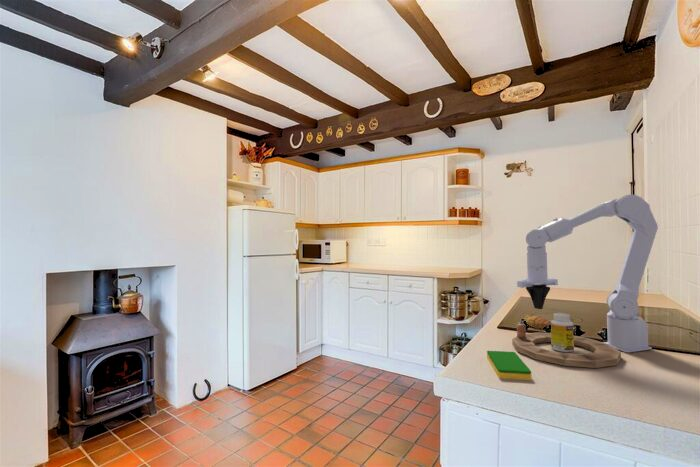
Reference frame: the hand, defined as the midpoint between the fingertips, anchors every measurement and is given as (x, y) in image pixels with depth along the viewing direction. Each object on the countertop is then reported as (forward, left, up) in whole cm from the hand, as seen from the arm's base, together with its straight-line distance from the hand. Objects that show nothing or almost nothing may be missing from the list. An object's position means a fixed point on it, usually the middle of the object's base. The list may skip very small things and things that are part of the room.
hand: (538, 308), depth 109 cm
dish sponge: (+28, +18, -10) cm, 35 cm away
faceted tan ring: (+5, +13, -9) cm, 17 cm away
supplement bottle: (+4, +12, -10) cm, 15 cm away
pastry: (-10, -11, -10) cm, 18 cm away
